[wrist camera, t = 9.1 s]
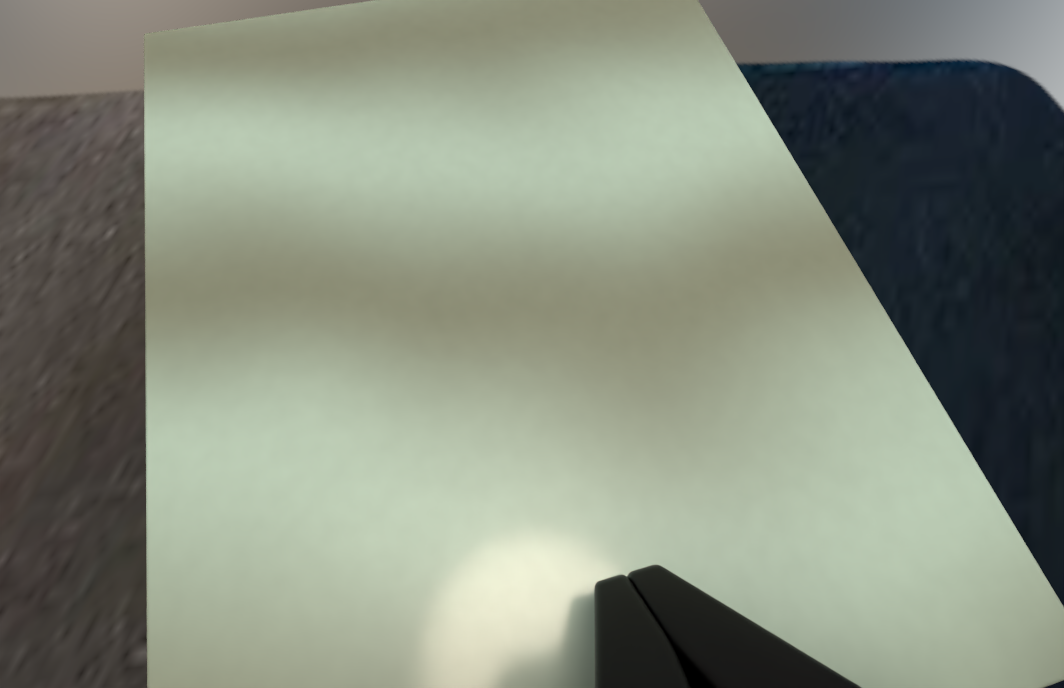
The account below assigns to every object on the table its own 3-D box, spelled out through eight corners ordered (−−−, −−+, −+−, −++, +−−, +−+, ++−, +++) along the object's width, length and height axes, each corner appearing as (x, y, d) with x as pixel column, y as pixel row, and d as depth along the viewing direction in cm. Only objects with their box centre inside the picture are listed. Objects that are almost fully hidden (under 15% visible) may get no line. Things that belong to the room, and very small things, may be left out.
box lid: (161, 63, 14) (142, 32, 13) (665, -14, 16) (672, -45, 15) (182, 983, 7) (146, 1020, 7) (1055, 665, 9) (1102, 667, 8)
